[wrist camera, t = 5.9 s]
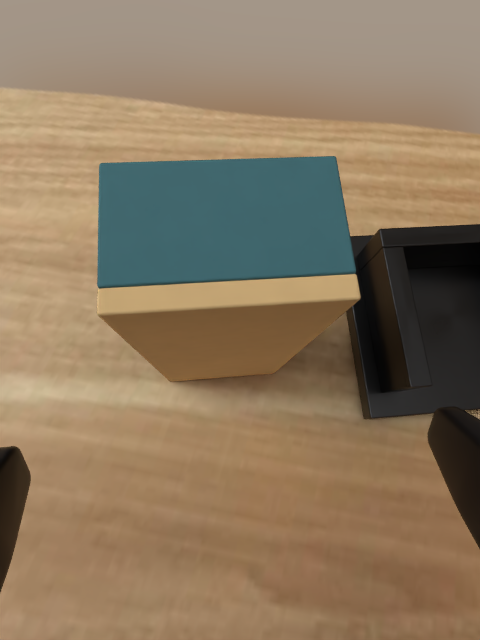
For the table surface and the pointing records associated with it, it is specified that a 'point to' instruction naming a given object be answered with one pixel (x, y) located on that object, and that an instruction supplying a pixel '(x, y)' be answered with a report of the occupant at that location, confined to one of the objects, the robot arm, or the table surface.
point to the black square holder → (417, 320)
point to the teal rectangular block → (223, 261)
